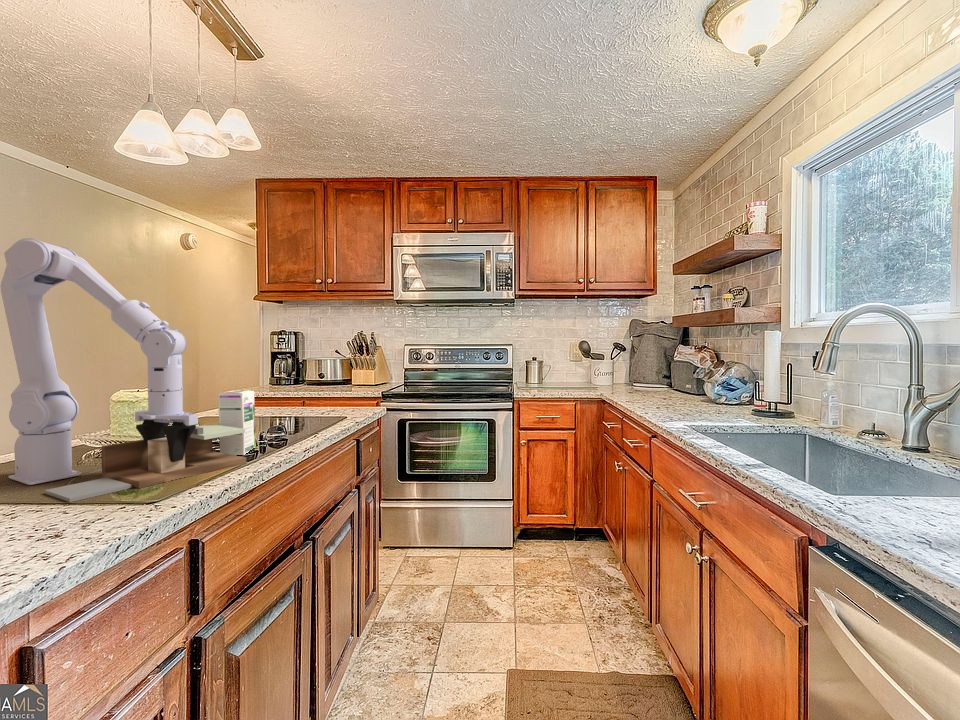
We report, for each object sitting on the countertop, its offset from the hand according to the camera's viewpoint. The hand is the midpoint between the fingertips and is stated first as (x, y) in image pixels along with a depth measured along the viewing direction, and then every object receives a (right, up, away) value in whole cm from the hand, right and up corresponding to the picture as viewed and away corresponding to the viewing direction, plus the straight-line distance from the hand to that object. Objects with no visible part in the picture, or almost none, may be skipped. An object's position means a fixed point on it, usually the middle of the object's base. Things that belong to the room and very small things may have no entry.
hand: (166, 459), depth 97 cm
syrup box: (+5, -2, +18) cm, 19 cm away
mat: (-6, -3, -11) cm, 13 cm away
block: (0, -2, 0) cm, 2 cm away
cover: (+4, +4, +8) cm, 10 cm away
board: (+1, -3, +3) cm, 4 cm away
